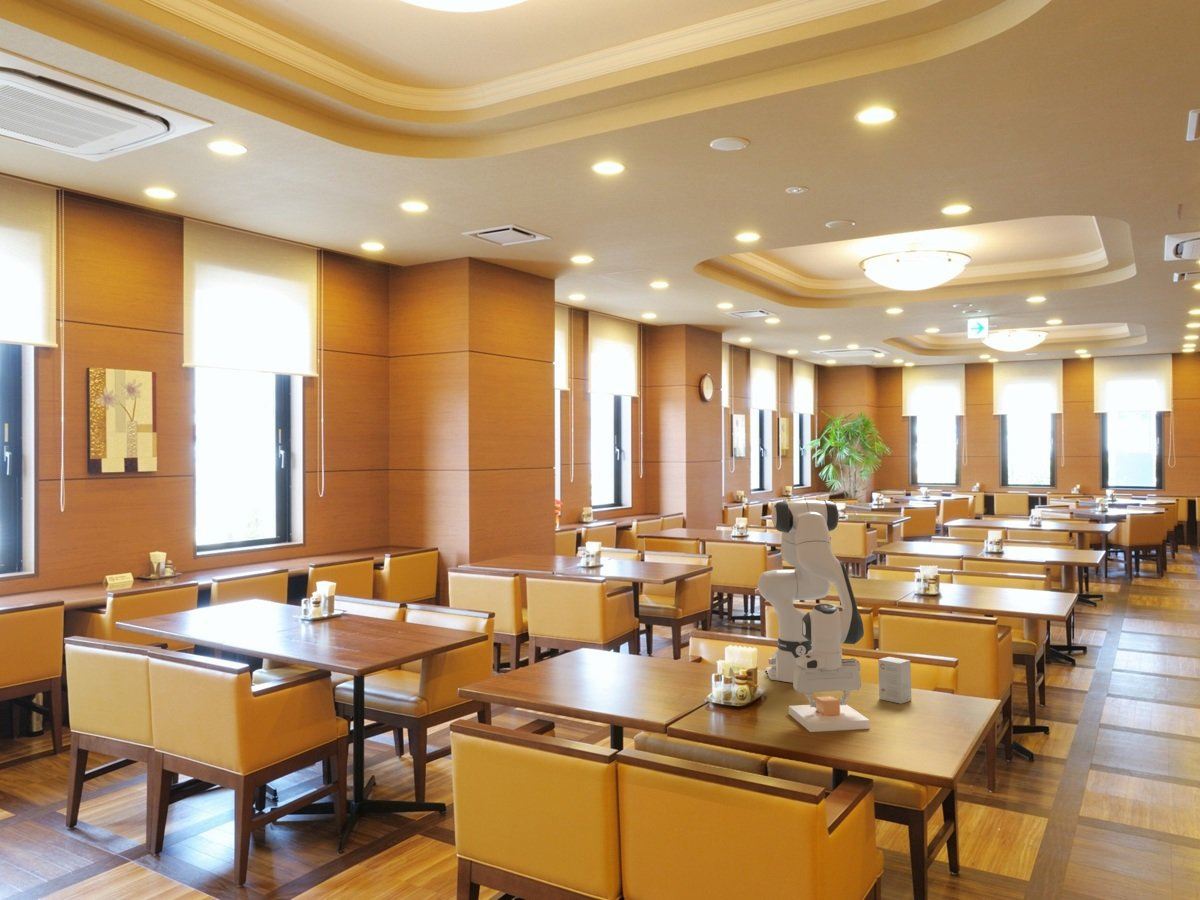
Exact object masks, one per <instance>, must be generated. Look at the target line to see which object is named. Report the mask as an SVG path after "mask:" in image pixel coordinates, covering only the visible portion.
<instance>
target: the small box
mask: <svg viewBox="0 0 1200 900" xmlns="http://www.w3.org/2000/svg"><path fill="white" fill-rule="evenodd" d="M911 668H912V667H911V660H910V659H904V658H899V657H893V656H887V657H883V658H882V657H881V658H879V659H878V692H879V693H878V694H879V695H878V696H879V700H883V701H887V702H893V703H897V704H901V705H902V704H905V703H907V702H910V701H912V674H911Z"/></svg>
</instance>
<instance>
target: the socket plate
mask: <svg viewBox="0 0 1200 900" xmlns="http://www.w3.org/2000/svg"><path fill="white" fill-rule="evenodd" d="M788 715H789V716H790V717H792V718H793V719H794V720H795V721H796V722H798V723H799V724H800V725H801V726H802V727H804V728H805V729H806V730H807V731H808V732H810V733H816V732H836V731H837V732H838V731H852V730H853V731H854V730H868V729H869V730H870V727H871V725H870V724H871V723H870V722H871V721H870V719H869V718H867V717H866V716H865V715H863V714H862V713H860V712H858V711H857V710H856V709H854V708H852V707H851V706H850V705H848V704H847V703H846V705H844V706H841V705H840V715H835V716H823V715H822V714H820V713H817V711H816V707H810V706H809V704H801V705H788Z"/></svg>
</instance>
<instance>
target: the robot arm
mask: <svg viewBox="0 0 1200 900" xmlns="http://www.w3.org/2000/svg"><path fill="white" fill-rule="evenodd" d="M839 519H840V513H839V510H838V506H837V505H836V504H835V502H833V501H830V500H825V499H824V500H818V499H817V500H816V499H804V500H801V499H799V500H789V501H787V500H783V501H779V502H776V503H775V504H774V506H773V509H772V511H771V521H772V524H773V527H774V529H775V530H777V532H781V542H780V543H781V544H780V555H781V559H782V560H784V562H786V564H788V565H790V566H792V567H795V568H793V569H791V568H790V569H771V570H768V571H763V572H762V573H761V574H760V575H759V577H758V578H757V579H758V580H757V590H758V592H759V594H760V596H761V597H762V598H764V599H765V601H767V602H768V603H769V604H770V605H771V606H772V607H773V609H774V611H775V613H776V617H777V620H778V622H777V623H778V634H779V635H778V638H777V641H776V642H777V646H776V648H777V649H776V650H775V651H774V652H773V654H772V655H771V657H769V658H768V665H770V666H766V667H765V672H766V671H767V672H766V674H767V673H768V674H767V676H768V678H769V680H772V681H780V682H785V683H792V684H793V689H794V691H796V692H797V693H799V694H803V693H804V695H805V697H806V698H807V700H808V705H809V706H810V707H816V699H812V697H813V693H827V692H829V693H830V692H842V693H843V694H842V697H841V698H839V699H838V701H839V702H840V705H841V706H844V705H846V704H847V700H848V698H849V696H850V694H851V691H859V690H861V688H862V679H861V677H862V676H861V673H860V672H861V663H860V661H859V660H857V659H856V658H843V648H842V645H841V644H843V645H844V644H847V645H855V644H857V643H858V642H859V641H860V640H861V639H862V638H863V637H864V634H865V633H864V632H865V627H864V622H863V619H862V617H861V613H860V612H859V609H858V605H857V602H856V599H855V595H854V592H853V589H852V583H851V581H850V579H849V575H848V572H847V569H846V567H845V565H844V563H843V561H841V560H839V559H838V558H837V556H835V554H834V551H833V549H832V543H831V536H830V532H832V531H834V530H835V529H836V528H837V526H838V523H839ZM831 583H832V584H833V585H834V586H835V588H836V590H837V594H838V598H839V601H840V605H841V608H842V610H841V611H840V610H839V608H838V606H835V605H833V604H830V603H818V604H816V605H814V606H813V608H812V611H809V612H807V613H806V612H804V611H803V610H801V609H799V608H797V607H795V606H794V602H795V601H813V600H819V599H824V598H826V597H827V596H828V595H829V593H830V590H831Z"/></svg>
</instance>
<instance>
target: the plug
mask: <svg viewBox="0 0 1200 900" xmlns="http://www.w3.org/2000/svg"><path fill="white" fill-rule="evenodd" d="M815 701H816V711H817V713H820V714H822V715H823V716H835V715H840V701H839V699H837V698H835V697H833V696H830V695H829V696H816V697H815Z"/></svg>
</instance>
